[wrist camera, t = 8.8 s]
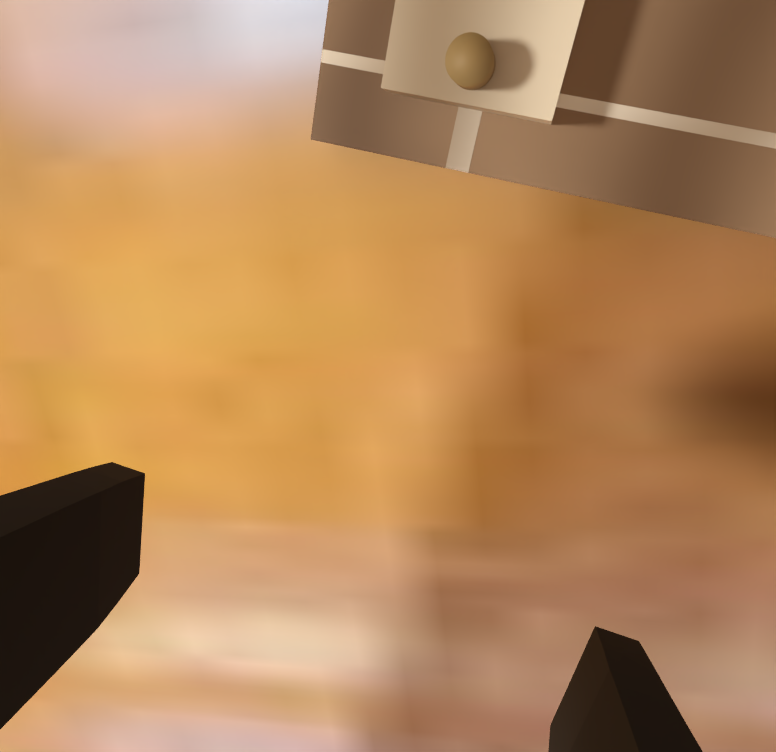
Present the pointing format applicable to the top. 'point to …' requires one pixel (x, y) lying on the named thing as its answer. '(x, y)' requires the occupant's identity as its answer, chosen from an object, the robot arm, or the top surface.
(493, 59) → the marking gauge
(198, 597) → the top surface
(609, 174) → the walnut board
